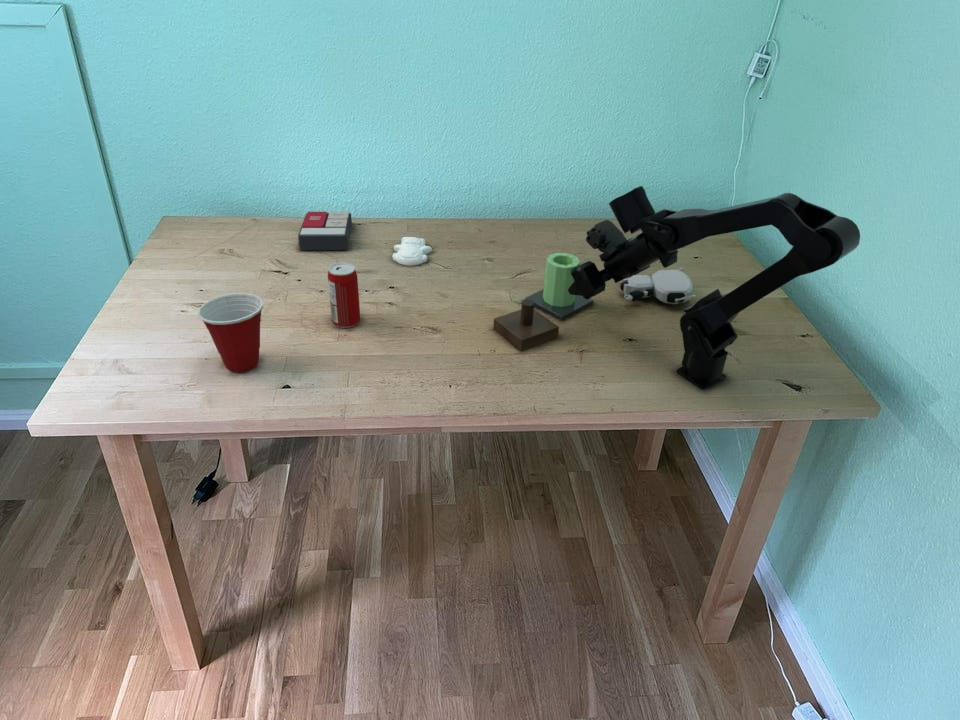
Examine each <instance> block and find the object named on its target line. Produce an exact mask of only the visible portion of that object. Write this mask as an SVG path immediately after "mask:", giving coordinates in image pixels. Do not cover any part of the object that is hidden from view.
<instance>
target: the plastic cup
mask: <svg viewBox="0 0 960 720" xmlns="http://www.w3.org/2000/svg"><path fill="white" fill-rule="evenodd" d="M263 308H264V300H263V298H261V297H260V296H259V295H257V294H253V293H249V292H235V293H227V294H223V295H220V296H219V295H218V296H216V297H213V298H211V299H209V300H208V301H205V302H204V303H202V304H201V306H199V308H198V309H197V317H198V318H199V319H200V320H201V321H202V322H203V324H204V325H205V327H206V329H207V331H208V333H209V335H210V337H211V340H212V342H213V344H214V346H215V348H216V350H217V353H218V354H219V356H220V358H221V361H222V364H223V365H224V367H225V368H226V369H227V371H229V372H232V373H240V374H241V373H246V372H250V371H252V370H253V369H255V368H257V366H258V365H259V364H260V363H259V361H260V348H261V321H262V310H263Z"/></svg>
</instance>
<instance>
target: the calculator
mask: <svg viewBox="0 0 960 720" xmlns="http://www.w3.org/2000/svg"><path fill="white" fill-rule="evenodd" d="M352 218H353V217H352V213H351V212H349V211H329V212H328V211H307V212H306V213H305V215H304V218H303V220H302V224H301V227H300V230H299V232H298V235H297V239H298V240H297V241H298V249H299V251H348V249H349V243H350V236H351V232H352V231H351V230H352V226H353V221H352Z"/></svg>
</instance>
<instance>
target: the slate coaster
mask: <svg viewBox="0 0 960 720" xmlns="http://www.w3.org/2000/svg"><path fill="white" fill-rule="evenodd" d="M543 291H544V288H543V289H541V290H539V291H537V292H534V293H533V294H531V295H528V296H526V297H525V299H530V300H533V301H534V308H537V309H538V310H540V311H542V312H544V313H546V314H548V315H550V316H552V317H553V318H555V319H557V320H559V321H561V322H563V321H564V320H566V319H568V318H571V316H574V315H575V314H578V313H579V312H581V311H583V310H585V309H587V308H589V307H591V306H592V305H594V300H593V299H592V298H589V299H588V300H587V299H585V298H583V296H580V295H576V297H575V301H574V302H573V304H572V305H570V306H565V307H558V306H552V305H550V304H548V303H546V302H545V301H544V298H543Z"/></svg>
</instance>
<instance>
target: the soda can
mask: <svg viewBox="0 0 960 720" xmlns="http://www.w3.org/2000/svg"><path fill="white" fill-rule="evenodd" d="M327 283H328V294H329V304H330V313H331V314H330V315H331V322H332V323H333V325H335V326H336V327H337V328H340V329H341V328H342V329H348V328H353V327H355V326H357V324H359V323H360V322H361V309H360V307H361V306H360V292H359V280H358V273H357V271H356V267H355V265H354V264H352V263H351V262H345V261H342V262H335V263H333V264H330V265H329V267H328V271H327Z"/></svg>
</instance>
